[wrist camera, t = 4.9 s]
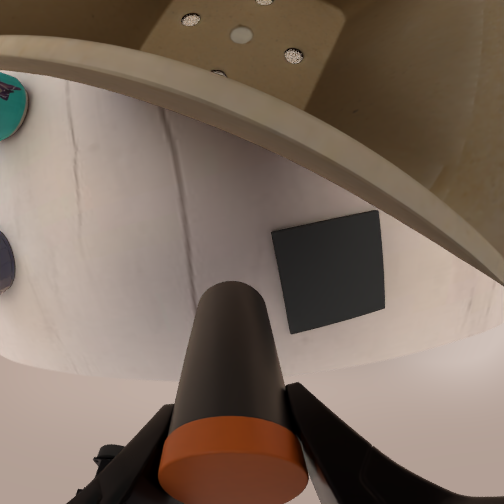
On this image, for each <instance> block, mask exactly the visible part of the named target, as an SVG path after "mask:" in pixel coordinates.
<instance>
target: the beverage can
mask: <svg viewBox="0 0 504 504" xmlns="http://www.w3.org/2000/svg"><path fill="white" fill-rule="evenodd" d="M27 108H28V95H27V92H26V90H25V89H24V87H23V86H22V84H21V83H20V82H19V81H18V79H16V78H15V77H12V76H10V75H7V74H4V73H1V72H0V141H1V140H3V139H6V138H7V137H9V136H11V135H13V134H14V133H15V132H16V131H17V130H18V128H19V127H20V126H21V124H22V122H23V120H24V118H25V116H26V112H27Z"/></svg>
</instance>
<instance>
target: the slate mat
mask: <svg viewBox="0 0 504 504" xmlns="http://www.w3.org/2000/svg"><path fill="white" fill-rule="evenodd" d="M271 234H272V239H273V244H274V249H275V254H276V259H277V264H278V270H279V275H280V280H281V285H282V291H283V296H284V301H285V307H286V312H287V318H288V323H289V329H290V333H291V334H295V333H299V332H303V331H307V330H311V329H315V328H319V327H323V326H326V325H330V324H334V323H337V322H341V321H345V320H348V319H351V318H355V317H358V316H362V315H365V314H368V313H372V312H375V311H378V310H381V309H384V308H385V290H384V268H383V253H382V240H381V230H380V220H379V211H378V210H374V211H369V212H364V213H359V214H354V215H349V216H344V217H339V218H335V219H330V220H325V221H320V222H315V223H311V224H306V225H301V226H297V227H292V228H287V229H283V230H278V231H273V232H271Z"/></svg>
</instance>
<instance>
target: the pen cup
mask: <svg viewBox="0 0 504 504" xmlns="http://www.w3.org/2000/svg"><path fill="white" fill-rule="evenodd" d="M14 276H15V263H14V257H13V253H12V250H11V247H10V245H9V243H8V241H7V239H6V237H5V236H4V235H3V233H2V232H1V231H0V295H1V294H2V293H4V292H5V291H6V290H7V289H9V288H10V287H11V285H12V283H13V280H14Z"/></svg>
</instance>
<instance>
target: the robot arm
mask: <svg viewBox="0 0 504 504" xmlns="http://www.w3.org/2000/svg"><path fill="white" fill-rule="evenodd" d="M285 390H286V394H287V398H288V403H289V407H290V411H291V415H292V419H293V423H294V427H295V431H296V434H297V438H298V440H299V441H300V443H301V446H302V450H303V454H304V458H305V462H306V466H307V470H308V473H309V475H310V478H311V480H312V483H313V485H314V488H315V490H316V493H317V495H318V497H319V500H320V502H321V504H504V496H501V497H470V496H464V495H459V494H456V493H454V492H451V491H449V490H447V489H444V488H442V487H440V486H438V485H436V484H434V483H432V482H430V481H428V480H426V479H424V478H422V477H420V476H418V475H416V474H414V473H412V472H411V471H409V470H407V469H405V468H404V467H402V466H400V465H399V464H397V463H396V462H394V461H393V460H391V459H390V458H389V457H387V456H386V455H384V454H383V453H381V452H380V451H379V450H378V449H377V448H375V447H374V446H372V445H371V444H370V443H369V442H368V441H367V440H365V439H364V438H363V437H362V436H360V435H359V434H358V433H357V432H356V431H354V430H353V429H352V428H351V427H349V426H348V425H347V424H346V423H345V422H344V421H343V420H341V419H340V418H339V417H338V416H337V415H336V414H334V413H333V412H332V411H331V410H330V409H329V408H327V407H326V406H325V405H324V404H323V403H322V402H321V401H319V400H318V399H317V398H316V397H315V396H314V395H313V394H311V393H310V392H309V391H308V390H307V389H306V388H305V387H304V386H303V385H302V384H300V383H299V382H296V383H292V384H288V385H286V386H285ZM173 409H174V404H166V405H164V406H163V407H162V408H161V409H160V410H159V411H158V412H157V413H156V414H155V415H154V417H153V418H152V419H151V420H150V421H149V422H148V423H147V424H146V425H145V426H144V427H143V428H142V429H141V430H140V432H139V433H138V434H137V435H136V436H135V437H134V438H133V439H132V440H131V441H130V442H129V443H128V444H127V445H126V446H125V447H124V449H123V450H122V451H121V452H120V453H119V454H118V455H117V456H116V457H115V458H114V459H113V458H102V457H94V459H93V460H94V462H95V463H96V464H97V465H98V466H99V467H98V470H97V473H96V476H95V478H94V479H93V480H92V482H90V483H89V484H88V485H87V486H86V487H84V489H78V490H77V493H76V496H75V497H74V498H73V499H71V500H70V501H69V502H68V503H67V504H184V503H182V502H180V501H178V500H176V499H175V498H173V497H172V496H170V495H169V494H168V493H167V492H165V490H164V489H163V488H162V487H161V485H160V483H159V480H158V472H159V466H160V461H161V456H162V451H163V446H164V443H165V440H166V439H167V437H168V433H169V428H170V423H171V418H172V413H173Z"/></svg>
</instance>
